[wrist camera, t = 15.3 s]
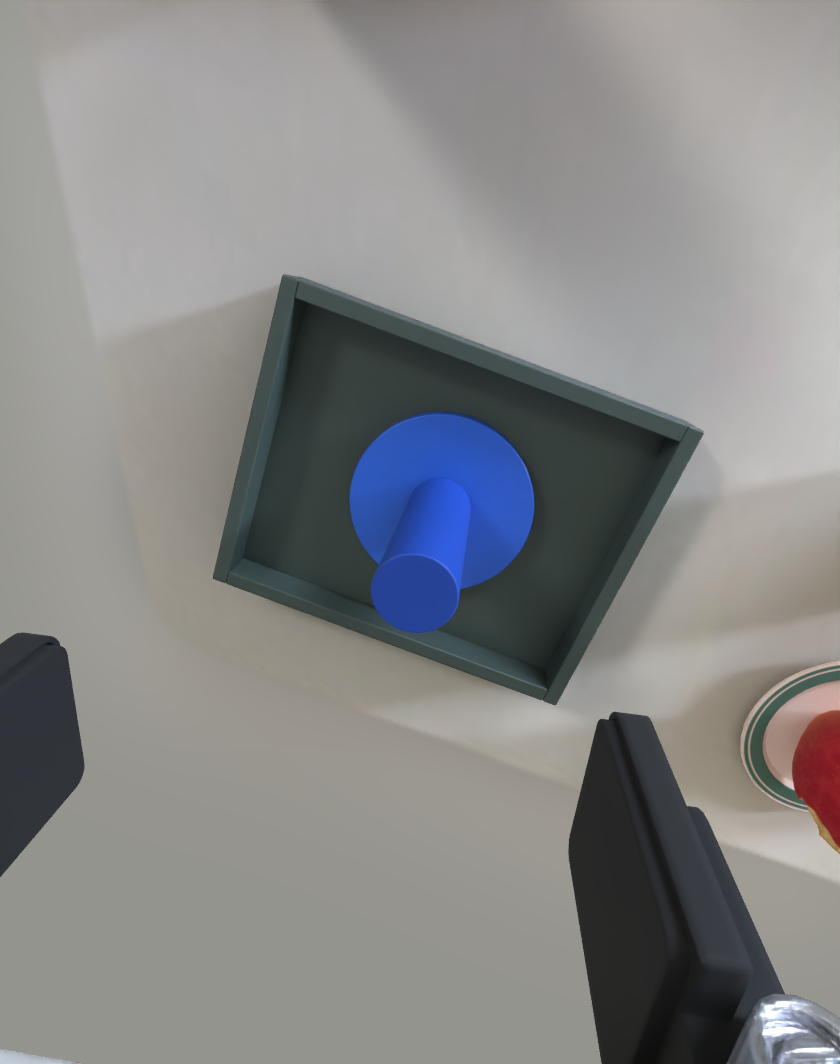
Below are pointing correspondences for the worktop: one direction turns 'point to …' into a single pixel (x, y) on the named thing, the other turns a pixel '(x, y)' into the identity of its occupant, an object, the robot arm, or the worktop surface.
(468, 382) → the tray
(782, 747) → the bitten apple on plate
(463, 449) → the blue disc with rod
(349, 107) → the worktop surface
